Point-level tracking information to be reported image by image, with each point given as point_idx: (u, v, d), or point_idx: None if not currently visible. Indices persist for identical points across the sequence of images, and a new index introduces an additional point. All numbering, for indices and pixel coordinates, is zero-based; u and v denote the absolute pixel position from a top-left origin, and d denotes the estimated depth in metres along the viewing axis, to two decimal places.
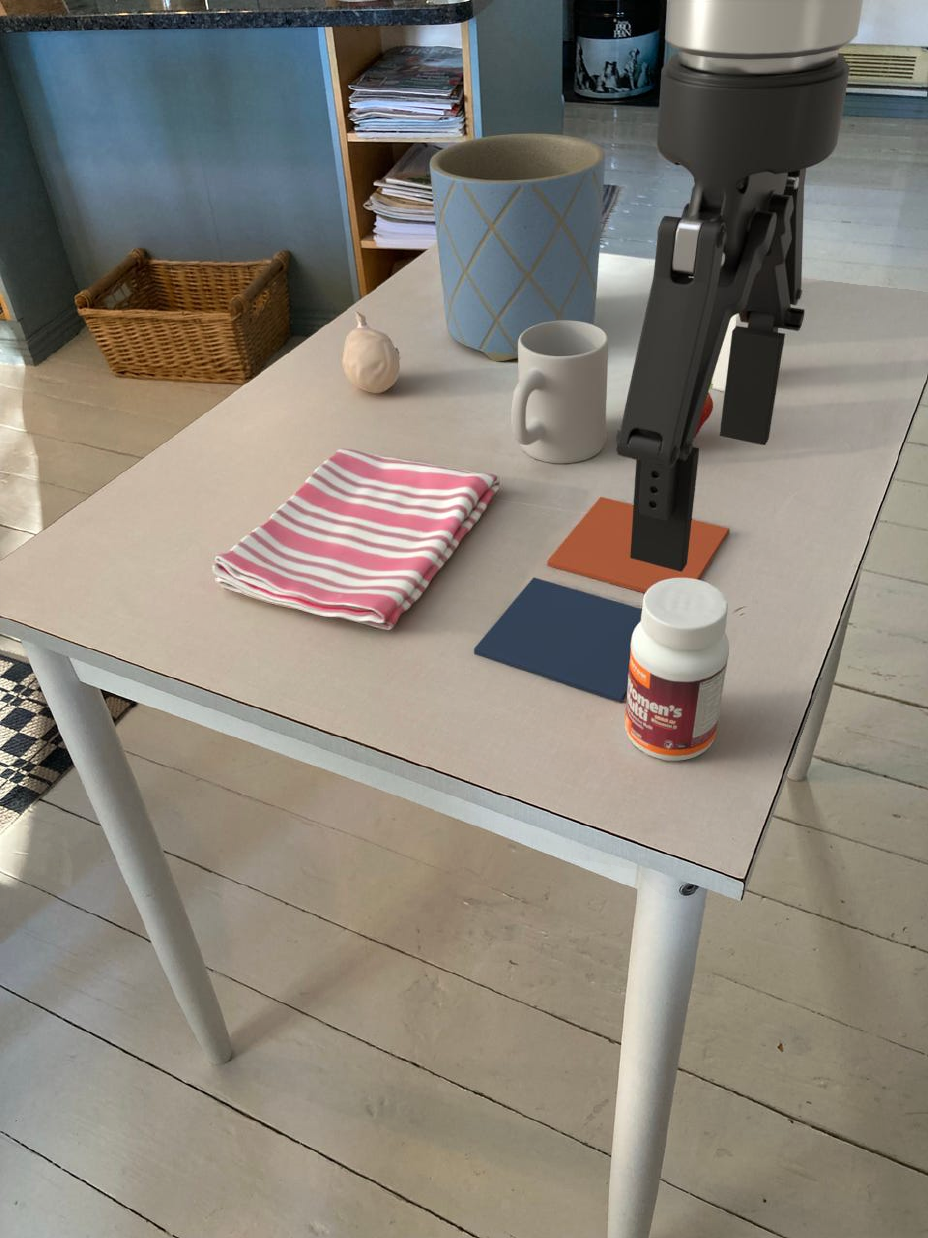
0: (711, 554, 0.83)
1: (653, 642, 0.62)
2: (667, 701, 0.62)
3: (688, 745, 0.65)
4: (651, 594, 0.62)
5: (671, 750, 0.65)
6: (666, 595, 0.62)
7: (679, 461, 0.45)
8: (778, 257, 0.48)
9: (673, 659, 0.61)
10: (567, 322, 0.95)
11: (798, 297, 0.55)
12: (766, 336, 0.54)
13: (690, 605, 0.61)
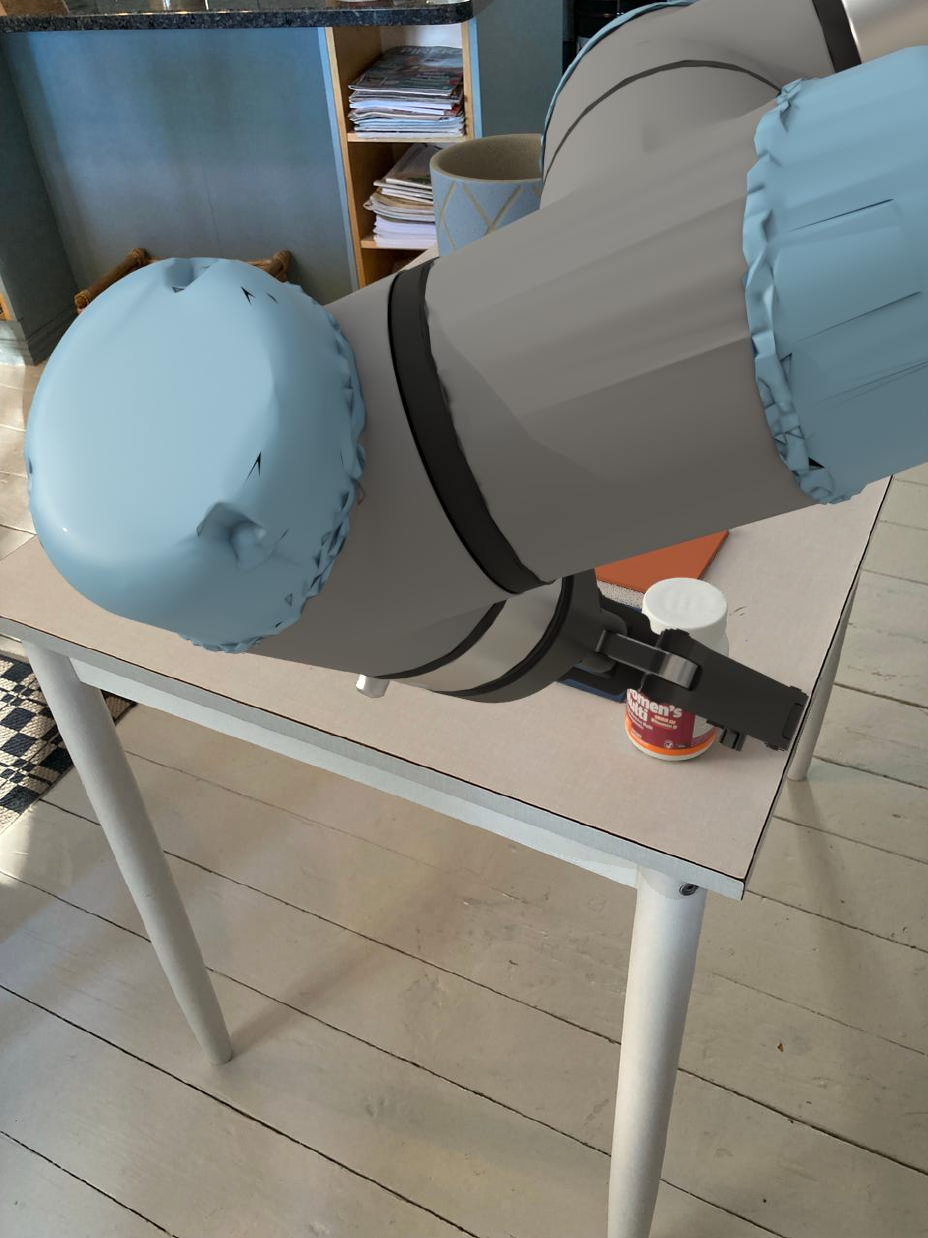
0: (711, 554, 0.83)
1: None
2: None
3: (688, 745, 0.65)
4: (651, 594, 0.62)
5: (671, 750, 0.65)
6: (667, 594, 0.62)
7: None
8: None
9: None
10: None
11: None
12: None
13: (690, 605, 0.61)
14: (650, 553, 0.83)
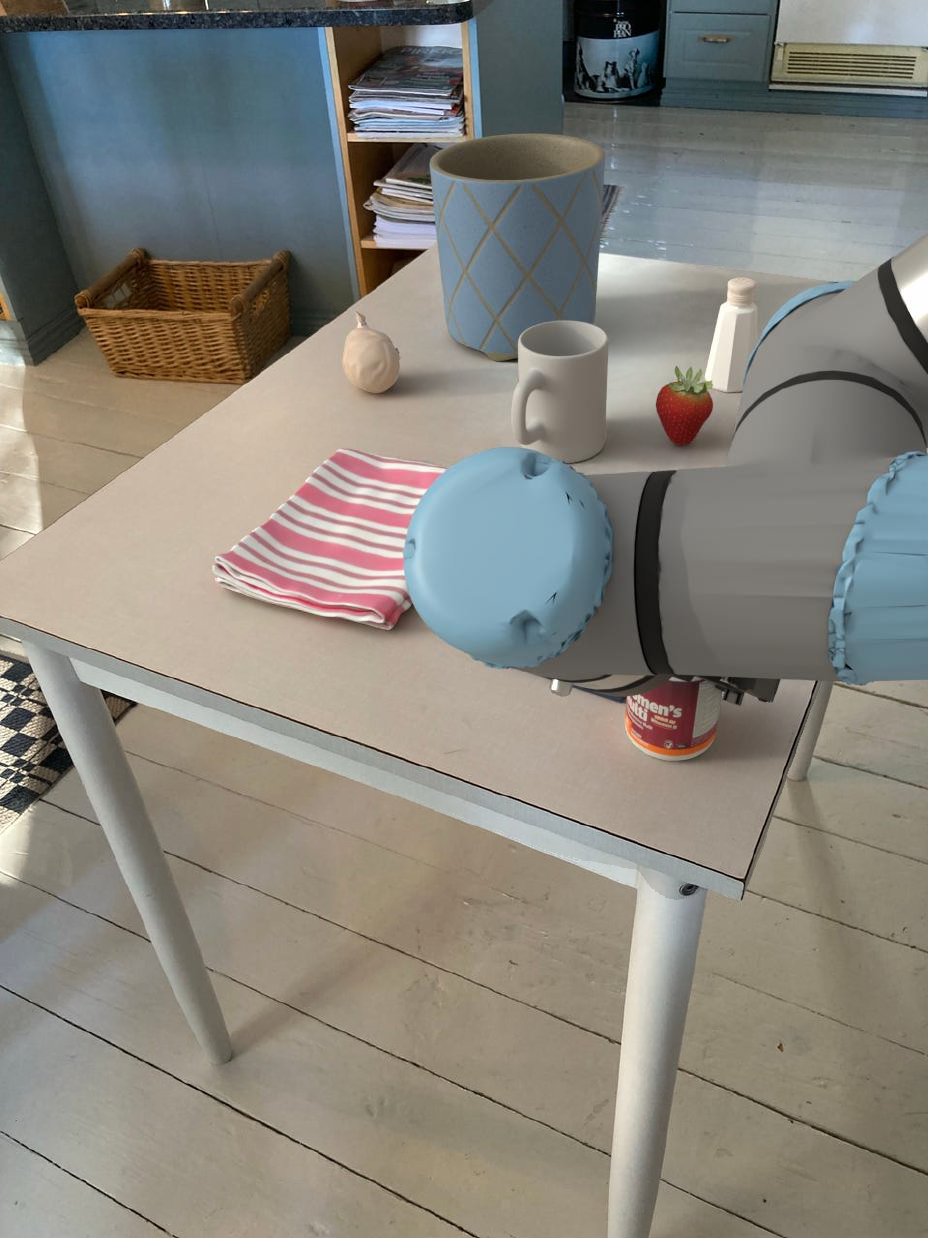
0: None
1: None
2: (667, 701, 0.62)
3: (688, 745, 0.65)
4: None
5: (671, 750, 0.65)
6: None
7: None
8: None
9: None
10: (567, 322, 0.95)
11: None
12: None
13: None
14: None
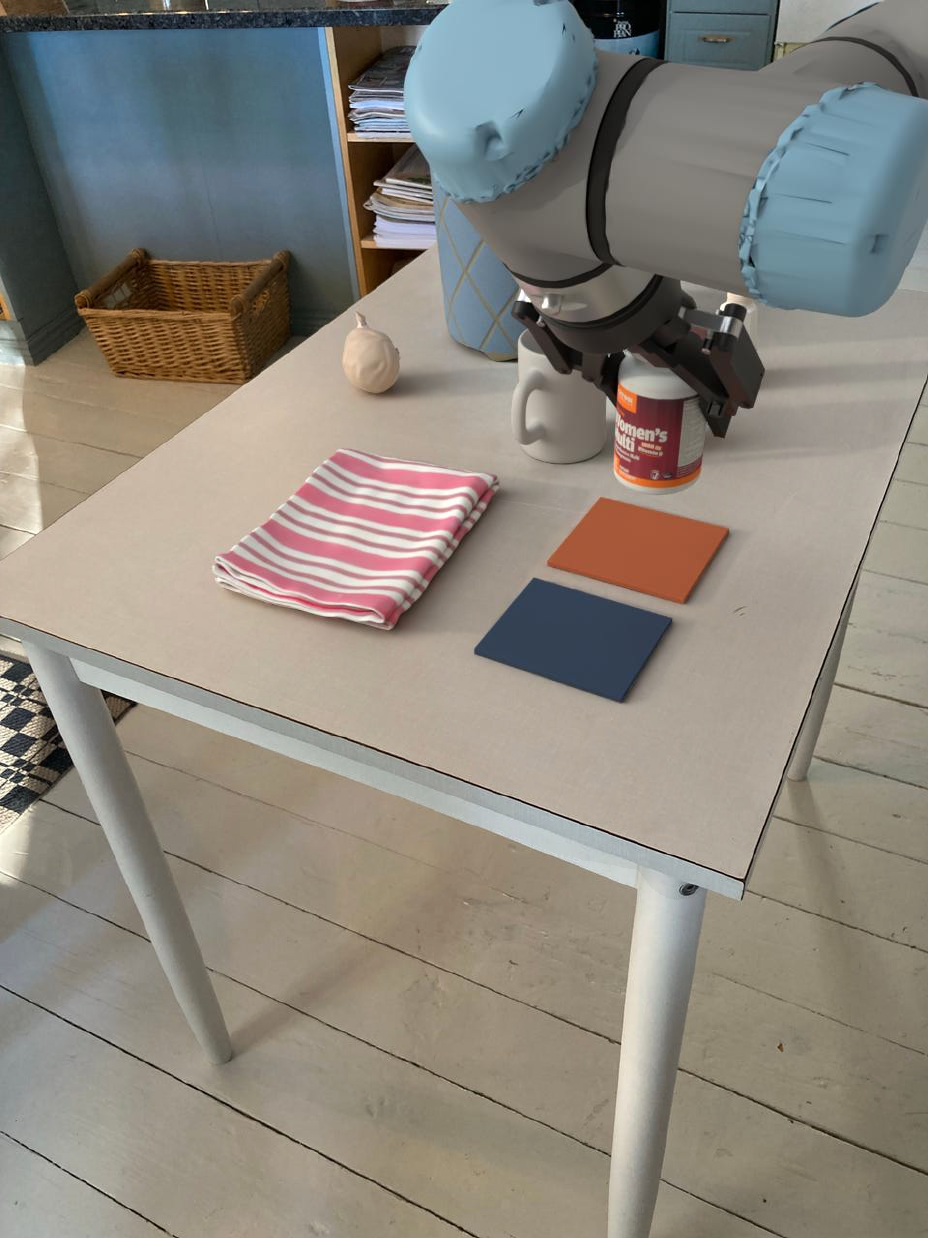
0: (711, 554, 0.83)
1: (639, 364, 0.65)
2: (653, 423, 0.65)
3: (674, 475, 0.68)
4: None
5: (657, 481, 0.68)
6: None
7: None
8: None
9: (658, 377, 0.64)
10: None
11: None
12: (618, 361, 0.67)
13: None
14: (650, 553, 0.83)
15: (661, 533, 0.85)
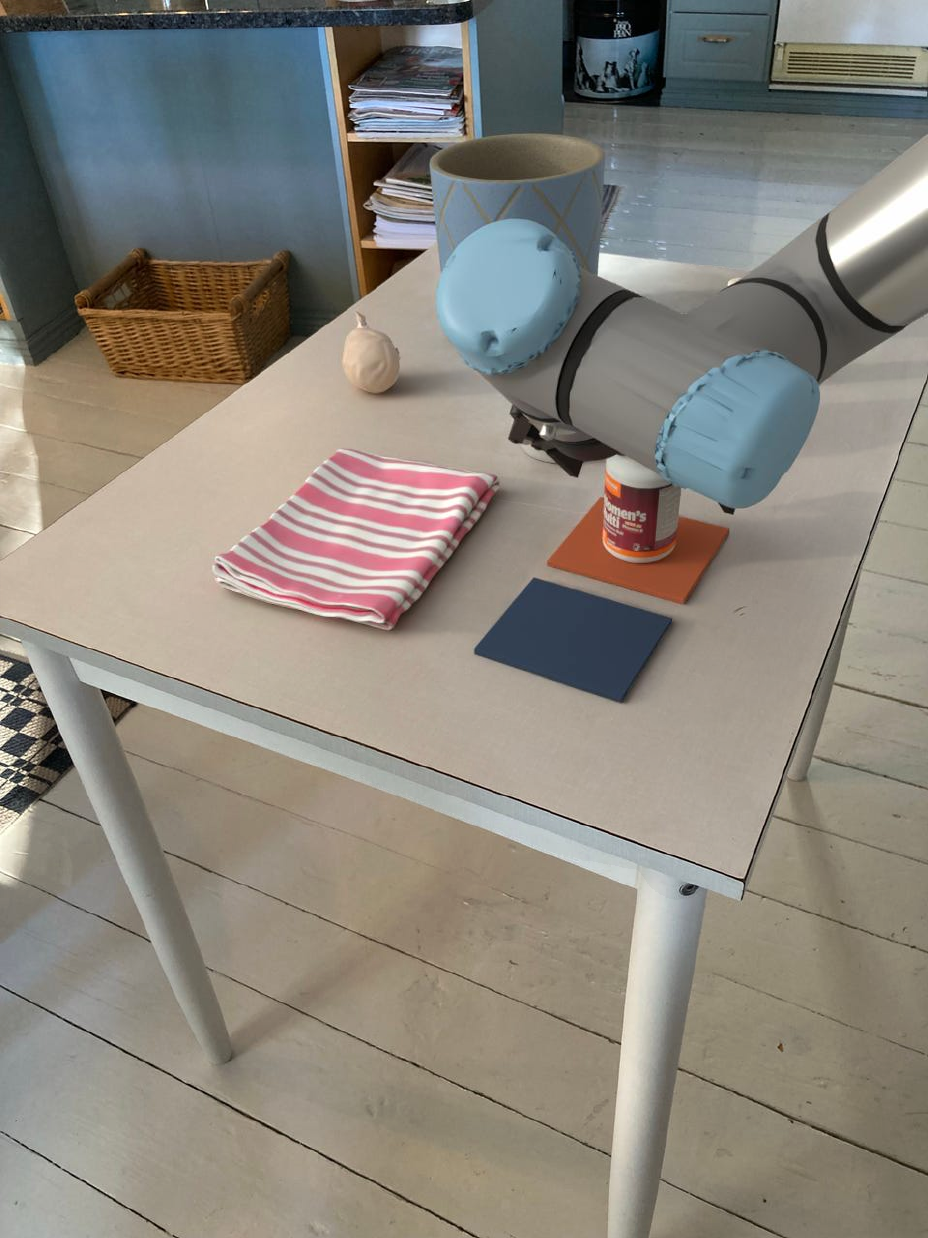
0: (711, 554, 0.83)
1: (623, 458, 0.78)
2: (634, 506, 0.78)
3: (652, 548, 0.81)
4: None
5: (638, 552, 0.81)
6: None
7: None
8: None
9: (638, 470, 0.77)
10: None
11: None
12: None
13: None
14: None
15: None
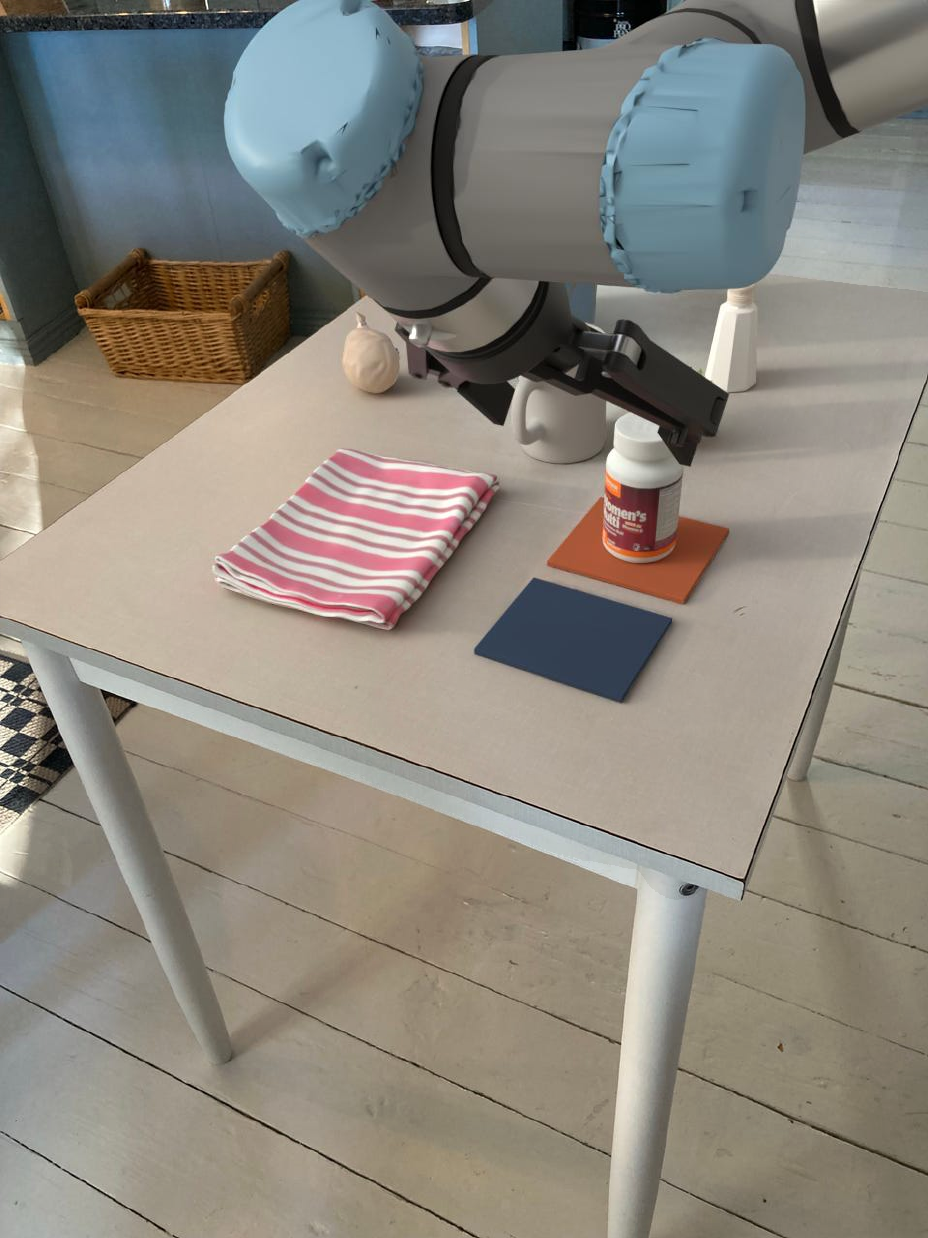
0: (711, 554, 0.83)
1: (623, 458, 0.78)
2: (635, 507, 0.78)
3: (652, 548, 0.81)
4: (621, 420, 0.78)
5: (638, 552, 0.81)
6: (633, 421, 0.78)
7: None
8: None
9: (638, 470, 0.77)
10: None
11: None
12: None
13: (652, 427, 0.77)
14: None
15: None
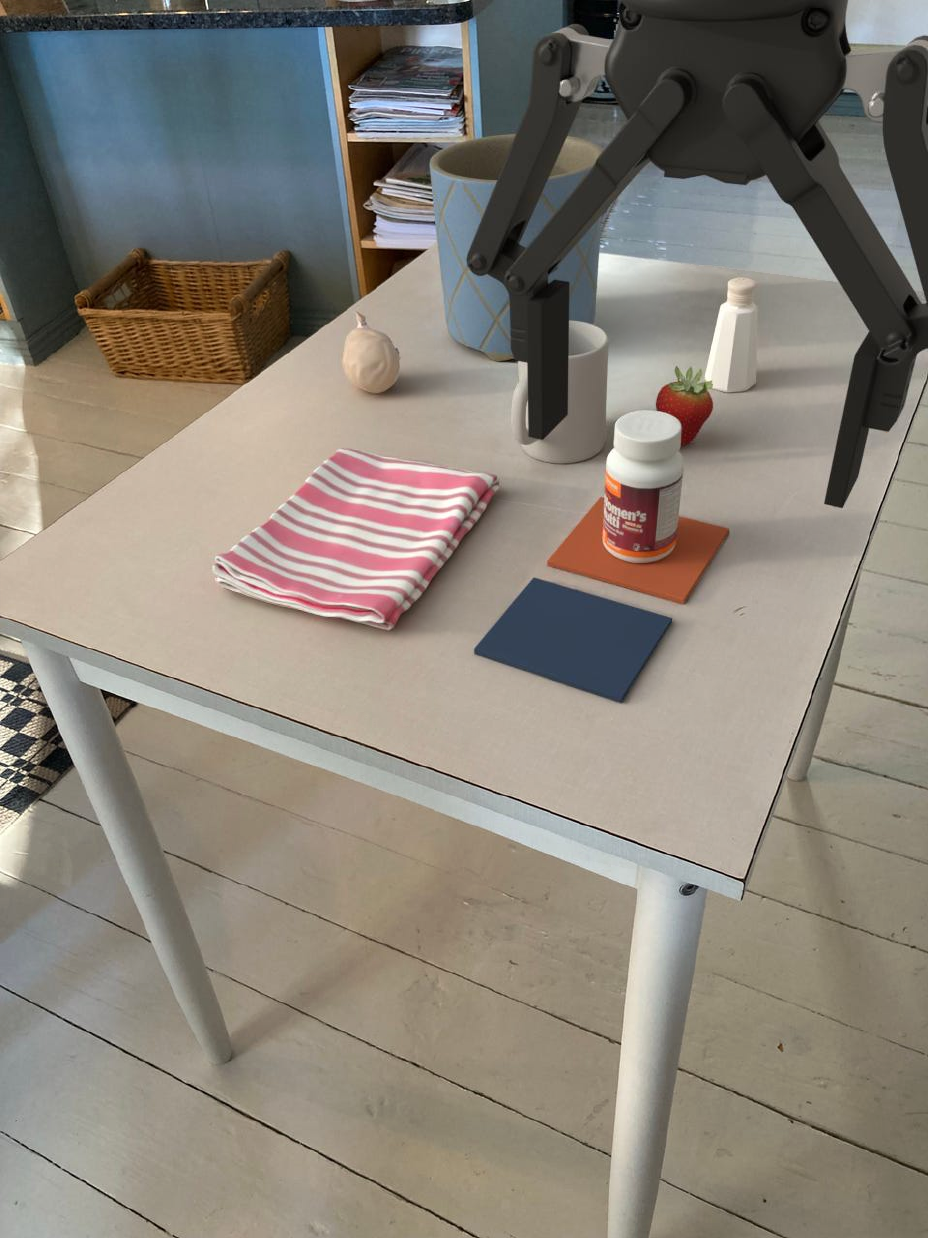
0: (711, 554, 0.83)
1: (623, 458, 0.78)
2: (635, 507, 0.78)
3: (652, 548, 0.81)
4: (621, 420, 0.78)
5: (638, 552, 0.81)
6: (633, 421, 0.78)
7: None
8: None
9: (638, 470, 0.77)
10: None
11: None
12: (560, 288, 0.43)
13: (652, 427, 0.77)
14: None
15: None
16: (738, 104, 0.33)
